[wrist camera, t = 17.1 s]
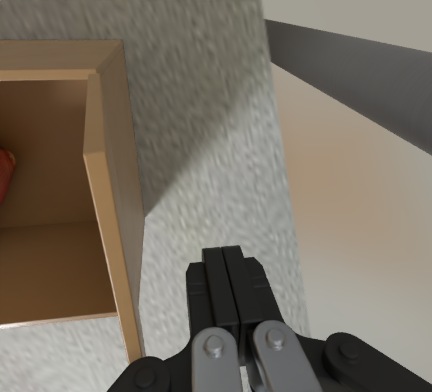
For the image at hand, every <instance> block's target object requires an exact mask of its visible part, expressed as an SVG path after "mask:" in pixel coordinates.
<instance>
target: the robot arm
mask: <svg viewBox="0 0 432 392" xmlns="http://www.w3.org/2000/svg"><path fill="white" fill-rule="evenodd" d="M186 291H187V306H188V317H189V328H190V340H189V342H188V344H187V345H186V347H185V348H184V349H183V350H182V351H181V352H179V353H178V354H176V355H174V356H172V357H170V358H168V359H166V360H164V361H163V360H161V359H159V358H157V357H153V356H146V357H142V358H139V359H137V360H135V361H133V362H132V363H131V364H130V365H129V366H128V367H127V368H126V369H125V370H124V371H123V373H122V374H121V375H120V376H119V377H118V379H117V380H116V381H115V382H114V383H113V385H112V386H111V387H110V388H109V389H108V391H107V392H243V388H242V380H241V373H240V367H241V366H246V370H247V374H248V384H247V386H248V392H432V384H430V383H429V382H427V381H425V380H424V379H422V378H421V377H419V376H418V375H416V374H414V373H413V372H411V371H410V370H408V369H406V368H405V367H403V366H402V365H400V364H399V363H397V362H395V361H394V360H392V359H391V358H389V357H387V356H386V355H384V354H383V353H381V352H380V351H378V350H376V349H375V348H373V347H372V346H370V345H369V344H367V343H365V342H364V341H362V340H361V339H359V338H357V337H355V336H353V335H351V334H348V333H343V332H341V333H340V332H338V333H334V334H332V335H330V336H329V337H328V338H327V340H326V341H323V340H318V339H312V338H307V337H303V336H301V335H299V334H297V333H295V332H294V331H293V330H292V329H291V328H290V327H289V326H288V325H286V324H285V322H284V320H283V318H282V315H281V313H280V310H279V308H278V305H277V302H276V300H275V297H274V295H273V292H272V289H271V287H270V284H269V282H268V279H267V278H266V274H265V271H264V269H263V266H262V265H261V264H260V263H259V262H258V261H257V260H256V259H255V258H254V257H249V258H244V256H243V253H242V250H241V247H240V246H239V245H237V246H225V247H221V248H220V247H215V248H203V249H202V262H196V263H190V265H189V267H188V269H187V271H186Z"/></svg>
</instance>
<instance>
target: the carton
mask: <svg viewBox="0 0 432 392" xmlns="http://www.w3.org/2000/svg"><path fill="white" fill-rule="evenodd" d="M95 73H99V74H100V78H101V84H102V90H103V96H104V102H105V109H106V115H107V121H108V127H109V133H110V139H111V145H112V151H113V157H114V163H115V169H116V175H117V181H118V187H119V193H120V199H121V205H122V211H123V217H124V223H125V229H126V235H127V241H128V247H129V253H130V259H131V265H132V272H133V278H134V284H135V290H136V296H137V302H138V305H139V292H140V278H141V264H142V250H143V236H144V222H145V216H144V208H143V200H142V192H141V184H140V176H139V168H138V160H137V152H136V144H135V136H134V128H133V120H132V112H131V104H130V96H129V87H128V79H127V71H126V63H125V55H124V47H123V40H0V148H2V149H5V150H7V151H9V152H11V153H12V154H13V155H14V157H15V159H16V164H17V165H16V168H15V170H14V173H13V176H12V179H11V183H10V186H9V190H8V192H7V195H6V197H5V199H4V202H3V203H2V204H1V205H0V329H4V328H13V327H23V326H32V325H41V324H50V323H59V322H68V321H78V320H87V319H96V318H105V317H114V316H118V313H117V309H116V304H115V300H114V295H113V291H112V286H111V281H110V277H109V272H108V268H107V263H106V258H105V254H104V249H103V245H102V240H101V236H100V231H99V226H98V222H97V217H96V213H95V208H94V204H93V199H92V194H91V190H90V185H89V181H88V176H87V171H86V167H85V162H84V158H83V146H84V131H85V115H86V100H87V84H88V74H95Z"/></svg>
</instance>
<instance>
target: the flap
mask: <svg viewBox="0 0 432 392" xmlns="http://www.w3.org/2000/svg"><path fill="white" fill-rule="evenodd" d="M83 158H84V162H85V167H86V171H87V176H88V181H89V185H90V190H91V194H92V199H93V204H94V208H95V213H96V217H97V222H98V226H99V231H100V236H101V240H102V245H103V249H104V254H105V258H106V263H107V268H108V272H109V277H110V281H111V286H112V291H113V295H114V300H115V304H116V309H117V313H118V318H119V323H120V327H121V332H122V336H123V341H124V345H125V350H126V355H127V359H128V364H129V365H130V364H131V363H132V362H133V361H135V360H137V359H139V358H142V357H146V354H145V347H144V340H143V333H142V326H141V320H140V314H139V308H138V302H137V296H136V290H135V284H134V278H133V272H132V265H131V259H130V253H129V247H128V241H127V235H126V229H125V223H124V217H123V211H122V205H121V199H120V193H119V187H118V181H117V175H116V169H115V163H114V157H113V151H112V145H111V139H110V133H109V127H108V121H107V115H106V109H105V102H104V96H103V90H102V84H101V78H100V74H99V73H95V74H88V84H87V100H86V115H85V131H84V146H83Z"/></svg>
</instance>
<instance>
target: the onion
mask: <svg viewBox="0 0 432 392" xmlns="http://www.w3.org/2000/svg"><path fill="white" fill-rule="evenodd" d="M16 165H17V164H16V159H15V157H14V155H13V154H12V153H11V152H9V151H7V150H5V149H2V148H0V205H1V204H2V203H3V202H4V199H5V197H6V195H7V192H8V190H9V186H10V183H11V179H12V176H13V173H14V170H15V168H16Z"/></svg>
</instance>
